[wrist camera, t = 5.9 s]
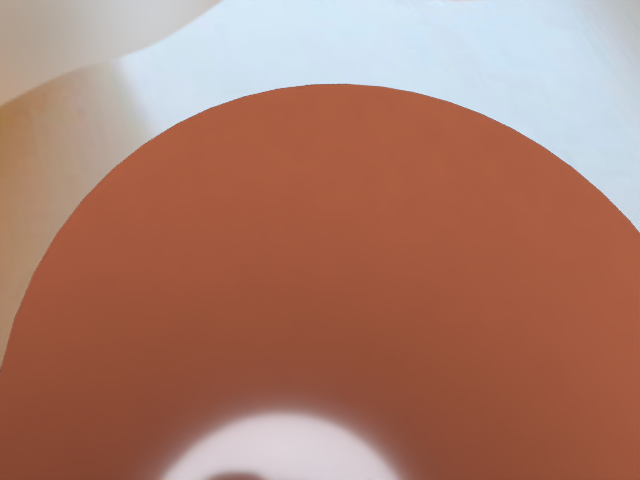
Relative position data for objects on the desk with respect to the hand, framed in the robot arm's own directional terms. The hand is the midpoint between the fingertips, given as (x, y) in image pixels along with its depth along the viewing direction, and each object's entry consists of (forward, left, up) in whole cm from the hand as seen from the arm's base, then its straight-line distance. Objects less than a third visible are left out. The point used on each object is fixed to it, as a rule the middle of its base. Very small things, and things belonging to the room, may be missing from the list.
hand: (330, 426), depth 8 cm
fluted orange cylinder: (0, 0, -7) cm, 7 cm away
